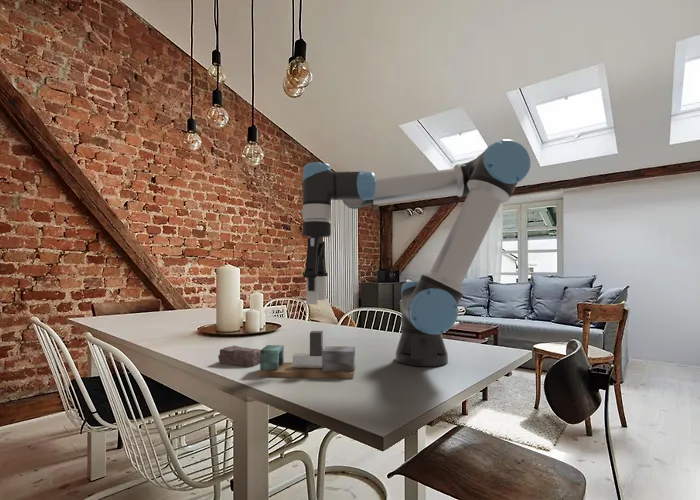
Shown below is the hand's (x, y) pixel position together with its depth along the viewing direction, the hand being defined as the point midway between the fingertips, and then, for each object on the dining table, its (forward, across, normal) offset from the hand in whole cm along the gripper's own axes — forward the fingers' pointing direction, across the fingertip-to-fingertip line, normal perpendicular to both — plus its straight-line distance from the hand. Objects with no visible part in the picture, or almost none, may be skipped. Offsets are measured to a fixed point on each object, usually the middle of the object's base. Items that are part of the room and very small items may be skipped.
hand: (316, 302), depth 103 cm
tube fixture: (+18, 0, -2) cm, 18 cm away
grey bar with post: (+17, 0, +2) cm, 17 cm away
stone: (+19, -9, -23) cm, 31 cm away
